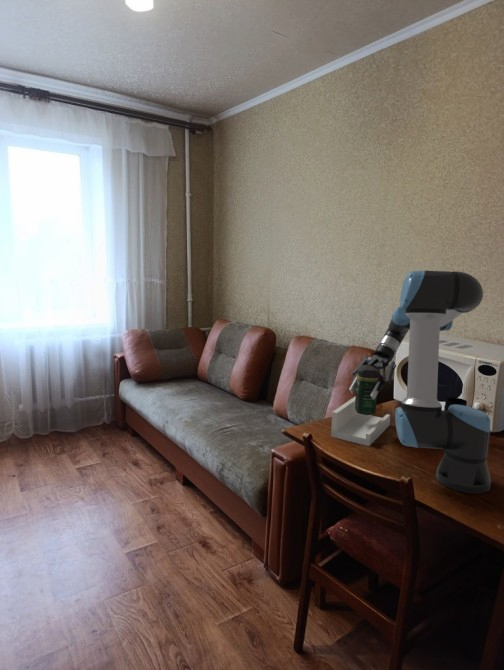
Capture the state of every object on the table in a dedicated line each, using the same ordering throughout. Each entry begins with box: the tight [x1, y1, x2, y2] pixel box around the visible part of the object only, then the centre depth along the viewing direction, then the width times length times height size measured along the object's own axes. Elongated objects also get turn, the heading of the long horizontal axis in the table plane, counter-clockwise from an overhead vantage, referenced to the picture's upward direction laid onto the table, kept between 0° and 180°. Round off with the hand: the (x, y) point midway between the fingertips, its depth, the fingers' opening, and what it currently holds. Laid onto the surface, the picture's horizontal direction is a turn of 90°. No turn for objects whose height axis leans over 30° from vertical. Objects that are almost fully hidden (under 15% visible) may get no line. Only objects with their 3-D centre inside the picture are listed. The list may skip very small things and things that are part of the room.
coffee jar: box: [355, 365, 379, 416], centre depth 170 cm, size 10×8×19 cm
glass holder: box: [443, 396, 479, 411], centre depth 166 cm, size 9×14×15 cm, turn 36°
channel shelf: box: [330, 395, 391, 447], centre depth 173 cm, size 26×15×10 cm, turn 147°
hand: (361, 394), depth 169 cm, fingers closed on coffee jar, 9 cm apart
